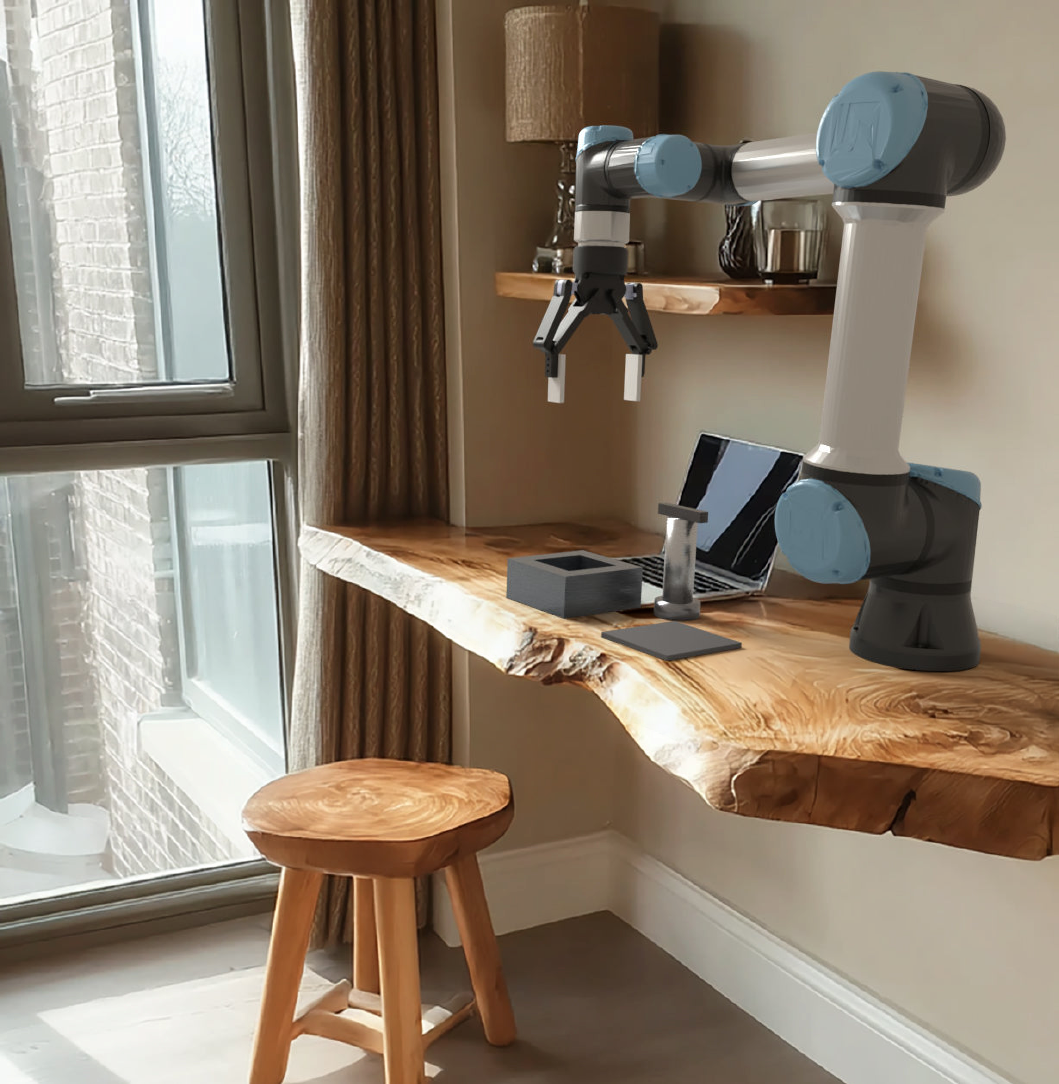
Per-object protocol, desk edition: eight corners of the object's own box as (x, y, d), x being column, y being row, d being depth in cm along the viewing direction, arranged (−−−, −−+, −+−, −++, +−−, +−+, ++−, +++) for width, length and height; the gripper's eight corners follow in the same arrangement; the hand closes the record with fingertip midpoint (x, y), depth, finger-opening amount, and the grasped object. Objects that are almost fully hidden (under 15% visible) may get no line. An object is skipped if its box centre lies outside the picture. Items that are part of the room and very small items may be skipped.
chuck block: (640, 607, 174) (642, 567, 173) (563, 618, 167) (565, 576, 166) (581, 588, 184) (582, 550, 183) (506, 597, 177) (507, 558, 176)
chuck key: (714, 619, 169) (721, 510, 167) (680, 624, 166) (686, 513, 163) (673, 606, 176) (679, 501, 173) (639, 611, 172) (645, 504, 169)
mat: (741, 647, 156) (741, 642, 156) (666, 660, 149) (667, 655, 149) (674, 625, 165) (674, 620, 165) (601, 636, 158) (601, 632, 158)
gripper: (651, 250, 187) (644, 397, 191) (510, 240, 173) (505, 400, 176) (687, 249, 181) (679, 401, 185) (543, 239, 167) (538, 405, 170)
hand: (594, 401), depth 181 cm, fingers open, 13 cm apart
